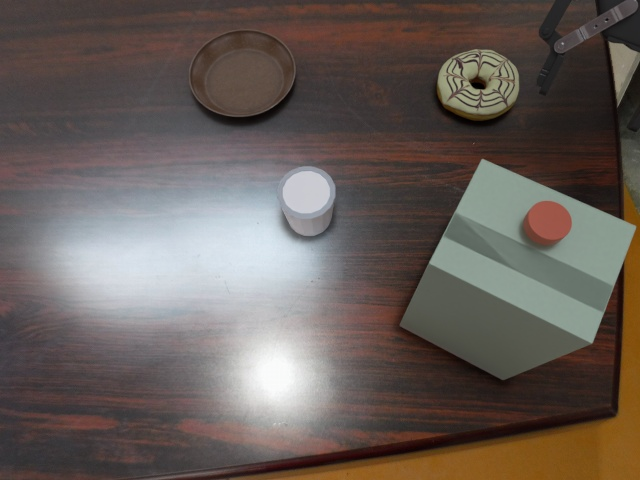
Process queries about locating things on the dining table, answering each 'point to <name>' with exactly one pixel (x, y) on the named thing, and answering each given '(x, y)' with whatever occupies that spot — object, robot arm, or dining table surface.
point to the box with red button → (516, 277)
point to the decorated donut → (482, 69)
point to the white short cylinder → (307, 199)
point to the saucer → (242, 72)
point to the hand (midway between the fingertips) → (585, 111)
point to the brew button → (547, 223)
